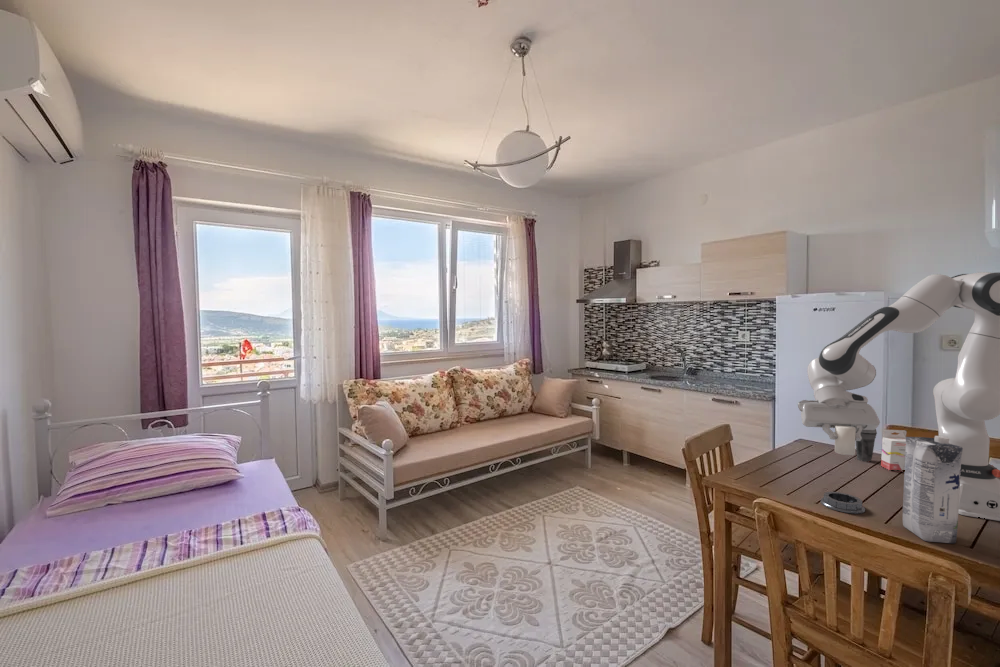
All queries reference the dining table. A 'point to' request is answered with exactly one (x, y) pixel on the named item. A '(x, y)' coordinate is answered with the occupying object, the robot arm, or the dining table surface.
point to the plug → (845, 440)
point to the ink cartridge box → (893, 450)
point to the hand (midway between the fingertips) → (846, 439)
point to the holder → (843, 502)
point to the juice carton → (932, 488)
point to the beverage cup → (866, 445)
